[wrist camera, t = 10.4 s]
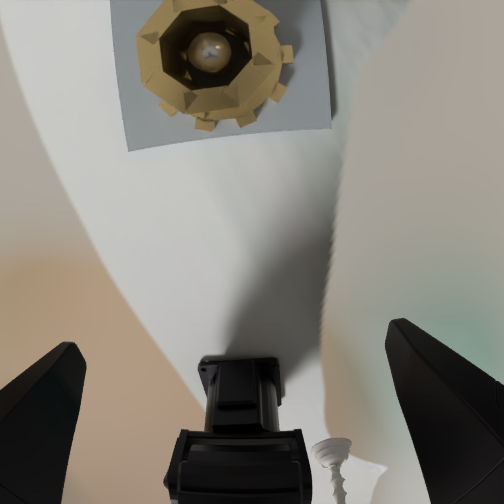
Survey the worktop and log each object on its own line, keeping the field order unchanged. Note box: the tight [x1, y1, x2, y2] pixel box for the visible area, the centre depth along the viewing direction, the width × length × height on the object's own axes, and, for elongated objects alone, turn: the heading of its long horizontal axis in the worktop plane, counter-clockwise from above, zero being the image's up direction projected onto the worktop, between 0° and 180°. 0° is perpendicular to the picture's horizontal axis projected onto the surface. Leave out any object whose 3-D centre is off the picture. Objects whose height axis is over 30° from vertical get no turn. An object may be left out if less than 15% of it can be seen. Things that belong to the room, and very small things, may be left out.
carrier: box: [110, 0, 332, 152], centre depth 11 cm, size 14×11×6 cm
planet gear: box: [136, 0, 294, 132], centre depth 12 cm, size 7×7×6 cm
